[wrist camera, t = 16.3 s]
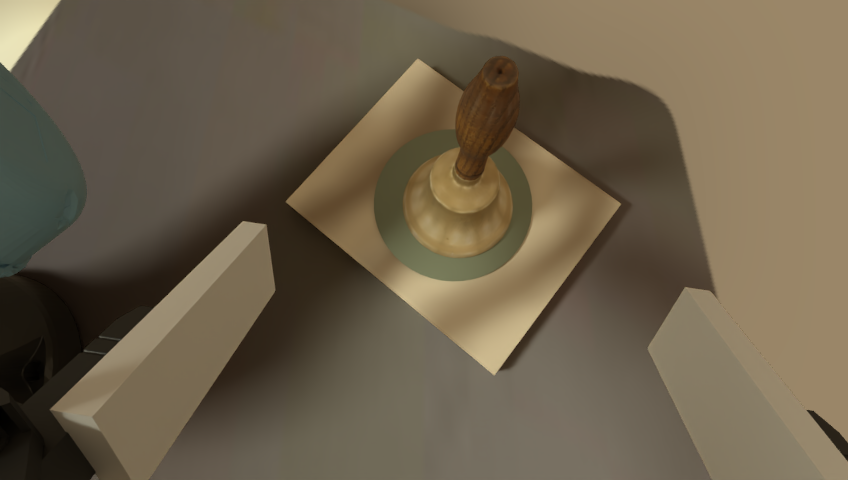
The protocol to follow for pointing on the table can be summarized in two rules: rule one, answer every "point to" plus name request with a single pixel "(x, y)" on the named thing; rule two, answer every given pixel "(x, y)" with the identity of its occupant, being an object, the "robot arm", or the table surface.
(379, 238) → the bell board
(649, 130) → the table surface
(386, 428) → the table surface
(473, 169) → the hand bell
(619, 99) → the table surface
